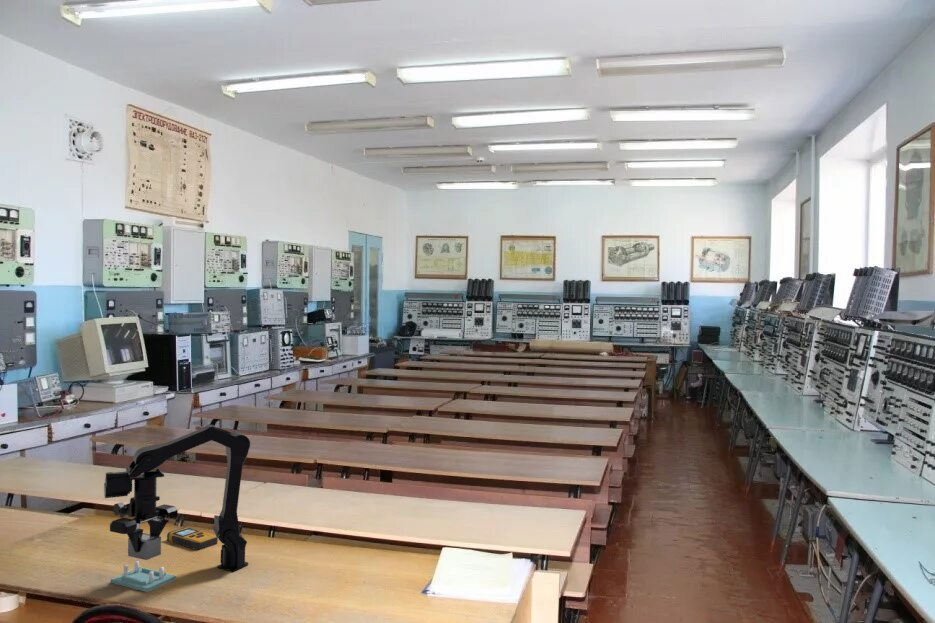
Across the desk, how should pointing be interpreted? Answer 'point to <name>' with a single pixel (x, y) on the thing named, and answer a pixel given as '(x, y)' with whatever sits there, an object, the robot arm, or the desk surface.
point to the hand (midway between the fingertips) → (144, 549)
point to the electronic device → (192, 538)
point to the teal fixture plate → (143, 578)
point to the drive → (146, 547)
